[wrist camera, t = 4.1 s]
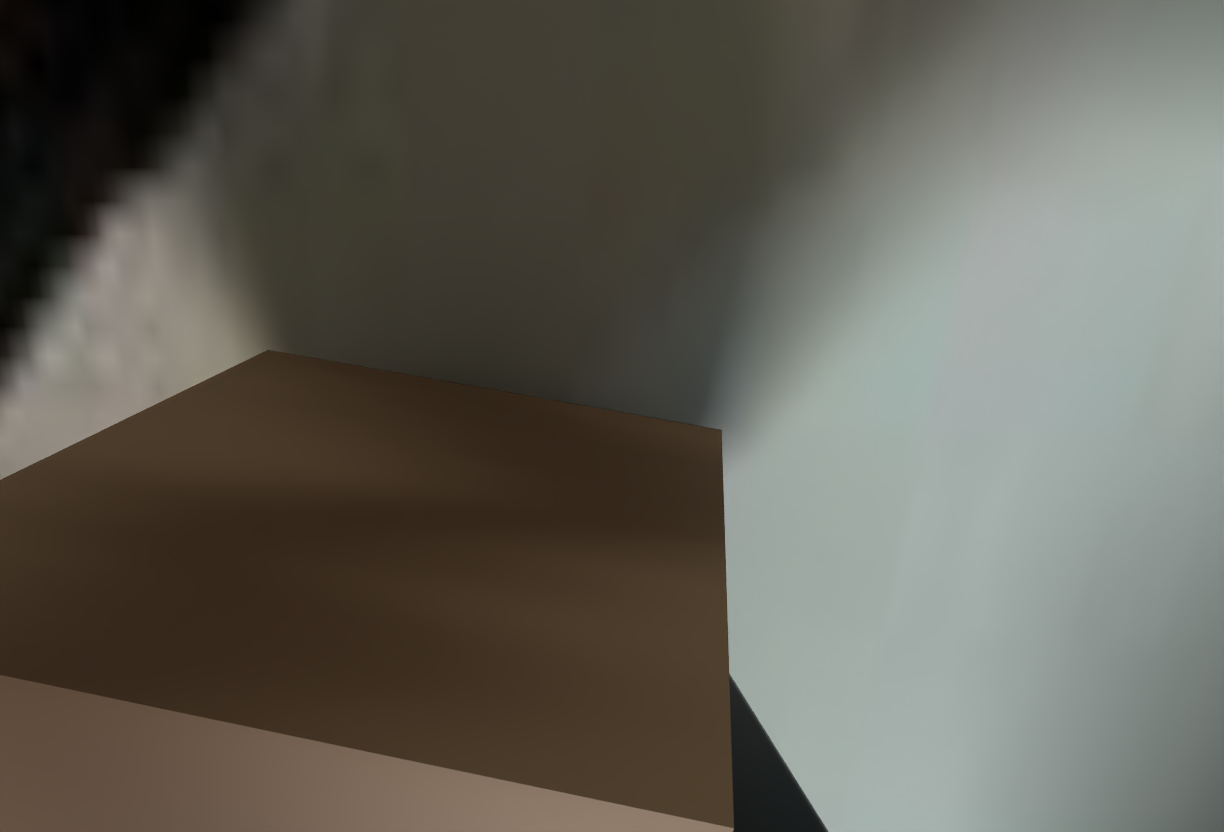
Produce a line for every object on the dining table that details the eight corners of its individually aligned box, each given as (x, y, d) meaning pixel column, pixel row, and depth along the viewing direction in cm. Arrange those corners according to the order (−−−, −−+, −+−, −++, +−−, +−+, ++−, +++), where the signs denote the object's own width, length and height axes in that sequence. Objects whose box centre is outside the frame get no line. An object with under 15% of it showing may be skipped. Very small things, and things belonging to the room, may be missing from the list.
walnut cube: (721, 429, 8) (732, 826, 3) (647, 788, 10) (589, 1371, 5) (267, 350, 8) (-281, 616, 4) (274, 710, 10) (-91, 1193, 6)
